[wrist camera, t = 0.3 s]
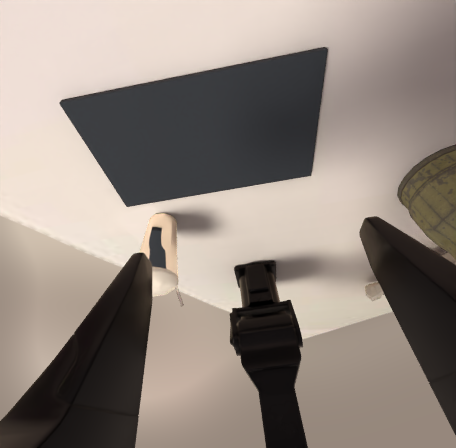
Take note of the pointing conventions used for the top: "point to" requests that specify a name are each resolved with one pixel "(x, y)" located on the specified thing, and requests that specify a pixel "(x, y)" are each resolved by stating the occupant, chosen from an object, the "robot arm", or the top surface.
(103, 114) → the mat
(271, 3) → the top surface
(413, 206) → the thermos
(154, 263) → the milkshake
